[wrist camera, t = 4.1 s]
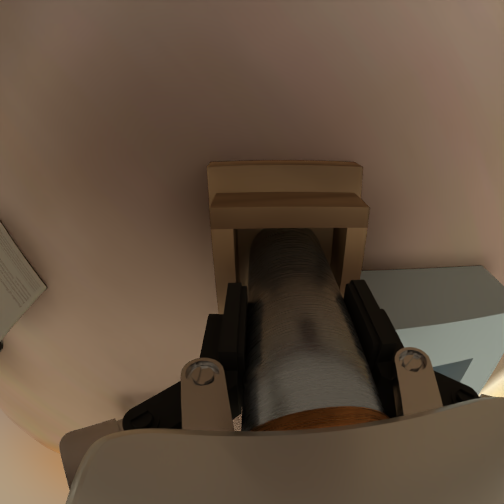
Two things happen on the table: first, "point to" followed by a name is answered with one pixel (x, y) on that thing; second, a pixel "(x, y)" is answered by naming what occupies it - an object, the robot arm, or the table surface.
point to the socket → (446, 317)
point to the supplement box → (15, 283)
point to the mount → (285, 213)
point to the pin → (301, 341)
